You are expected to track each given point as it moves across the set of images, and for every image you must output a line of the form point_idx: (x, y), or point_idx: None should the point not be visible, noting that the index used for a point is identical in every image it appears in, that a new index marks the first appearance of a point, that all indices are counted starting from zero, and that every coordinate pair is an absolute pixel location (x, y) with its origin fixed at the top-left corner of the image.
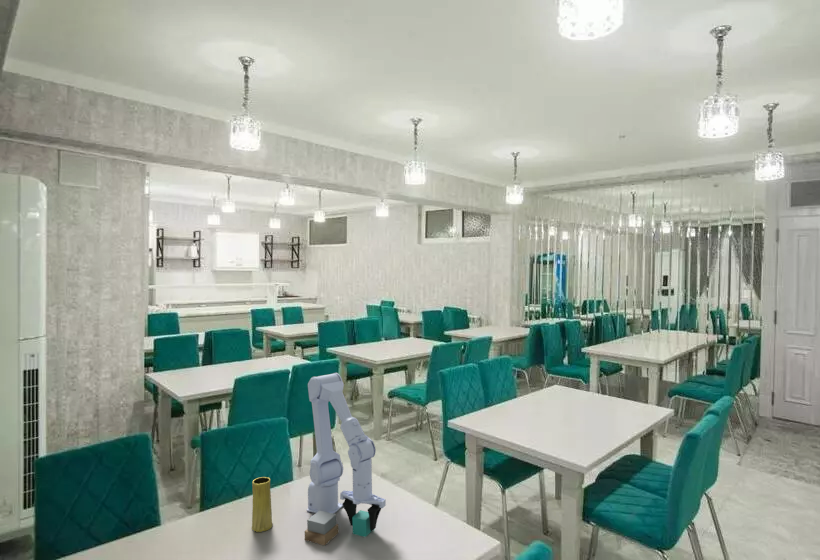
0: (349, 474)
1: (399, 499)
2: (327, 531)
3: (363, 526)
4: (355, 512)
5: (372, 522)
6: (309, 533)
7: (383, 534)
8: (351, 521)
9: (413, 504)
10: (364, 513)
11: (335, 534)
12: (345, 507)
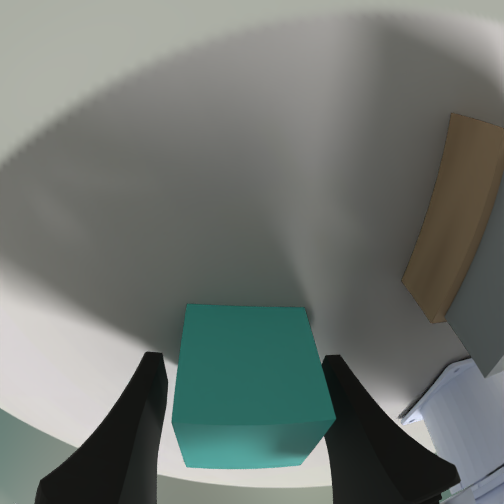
0: None
1: (215, 475)
2: (500, 200)
3: (201, 367)
4: (330, 444)
5: (114, 406)
6: None
7: (106, 348)
8: (339, 381)
9: (157, 467)
10: (247, 460)
11: (420, 252)
12: (428, 471)
